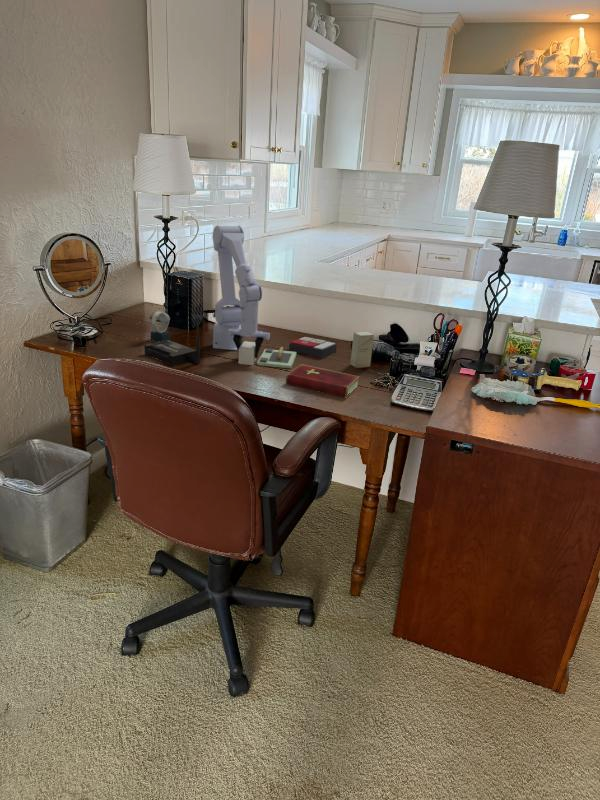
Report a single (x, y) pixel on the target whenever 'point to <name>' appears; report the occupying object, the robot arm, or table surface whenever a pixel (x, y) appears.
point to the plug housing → (247, 353)
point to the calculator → (313, 347)
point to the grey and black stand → (174, 351)
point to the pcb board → (277, 358)
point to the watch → (161, 334)
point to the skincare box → (362, 349)
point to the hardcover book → (322, 380)
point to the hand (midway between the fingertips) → (248, 356)
